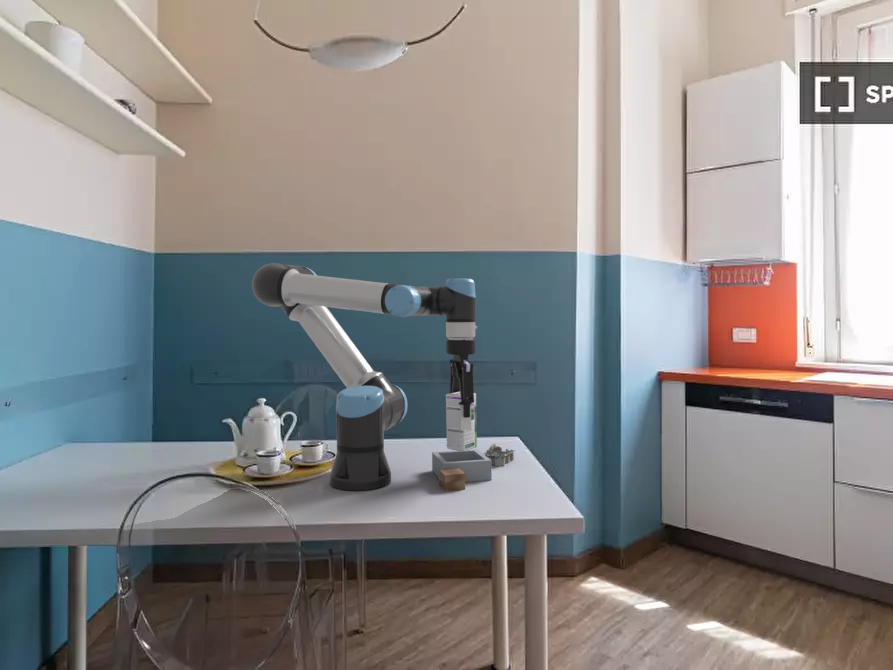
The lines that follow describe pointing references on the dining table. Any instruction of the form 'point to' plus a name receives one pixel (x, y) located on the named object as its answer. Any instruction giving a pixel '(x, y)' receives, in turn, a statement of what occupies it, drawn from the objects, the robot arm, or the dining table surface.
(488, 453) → the egg carton
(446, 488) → the walnut stub
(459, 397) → the syrup box
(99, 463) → the dining table surface
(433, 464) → the socket
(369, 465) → the robot arm
